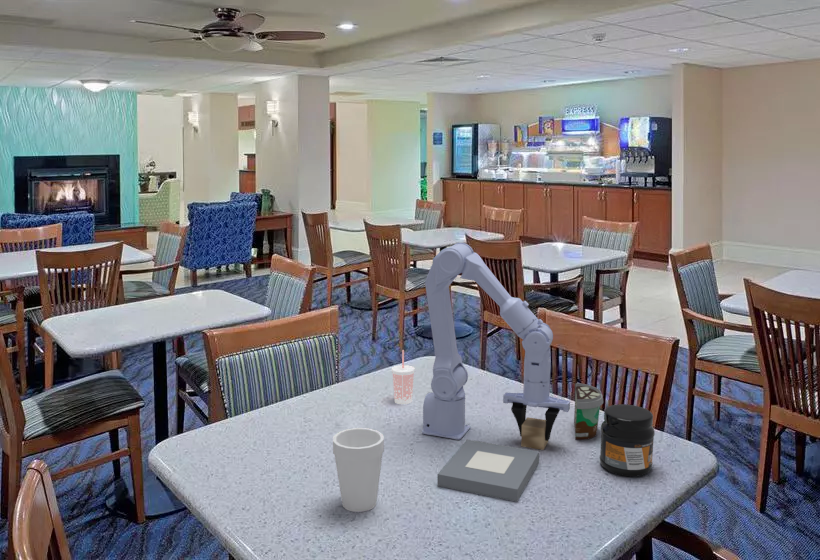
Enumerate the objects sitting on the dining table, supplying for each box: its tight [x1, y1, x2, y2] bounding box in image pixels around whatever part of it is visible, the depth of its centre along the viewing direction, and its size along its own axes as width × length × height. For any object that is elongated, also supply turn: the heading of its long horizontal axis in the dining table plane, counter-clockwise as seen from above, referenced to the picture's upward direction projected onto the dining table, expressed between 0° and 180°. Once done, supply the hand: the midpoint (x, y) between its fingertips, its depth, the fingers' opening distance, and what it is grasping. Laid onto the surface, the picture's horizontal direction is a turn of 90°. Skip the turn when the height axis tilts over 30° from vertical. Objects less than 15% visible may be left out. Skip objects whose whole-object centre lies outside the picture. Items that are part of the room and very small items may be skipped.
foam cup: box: [332, 427, 385, 513], centre depth 128 cm, size 10×9×13 cm
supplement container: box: [599, 403, 655, 477], centre depth 142 cm, size 10×10×12 cm
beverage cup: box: [390, 349, 416, 406], centre depth 180 cm, size 6×6×14 cm
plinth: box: [436, 439, 540, 502], centre depth 140 cm, size 16×18×3 cm
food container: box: [573, 382, 604, 441], centre depth 160 cm, size 12×6×10 cm, turn 168°
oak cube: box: [520, 416, 549, 451], centre depth 154 cm, size 5×5×5 cm
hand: (535, 437), depth 155 cm, fingers closed on oak cube, 5 cm apart
